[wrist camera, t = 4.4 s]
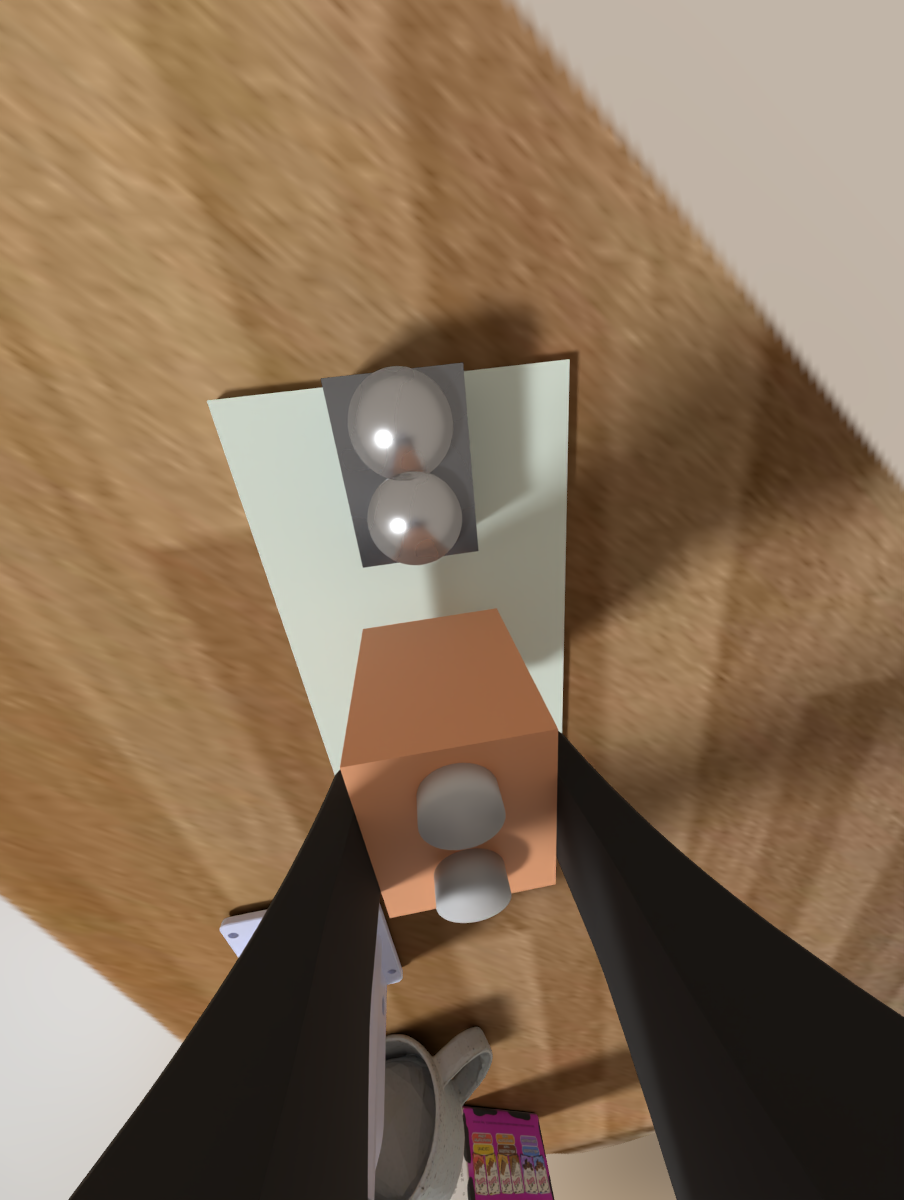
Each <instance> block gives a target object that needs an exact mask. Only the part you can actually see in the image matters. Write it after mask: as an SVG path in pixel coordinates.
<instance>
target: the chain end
mask: <svg viewBox="0 0 904 1200" xmlns="http://www.w3.org/2000/svg"><path fill="white" fill-rule="evenodd" d="M321 382H322V387H323V391H324V396H325V400H326V405H327V409H328V414H329V418H330V423H331V427H332V432H333V436H334V441H335V445H336V450H337V454H338V459H339V463H340V468H341V472H342V477H343V481H344V486H345V490H346V495H347V499H348V504H349V508H350V512H351V517H352V521H353V526H354V530H355V535H356V539H357V544H358V548H359V553H360V557H361V562H362V566H363V568H365V567H372V566H379V565H386V564H393V563H403V564H407V565H424V564H428V563H431V562H434V561H436V560H438V559H440V558H441V557H443V556H448V555H455V554H462V553H469V552H476V551H479V550H478V538H477V526H476V514H475V502H474V489H473V477H472V465H471V453H470V441H469V429H468V417H467V404H466V392H465V380H464V368H463V363H455V364H446V365H437V366H429V367H420V368H409V367H403V366H391V367H386V368H383V369H380V370H377V371H376V372H374V373H366V374H358V375H349V376H340V377H331V378H322V379H321Z"/></svg>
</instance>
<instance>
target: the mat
mask: <svg viewBox="0 0 904 1200" xmlns="http://www.w3.org/2000/svg"><path fill="white" fill-rule="evenodd" d="M569 366H570V359H567V360H558V361H550V362H541V363H532V364H523V365H515V366H506V367H497V368H488V369H480V370H471V371H464V380H465V392H466V404H467V417H468V429H469V441H470V453H471V465H472V477H473V489H474V502H475V514H476V526H477V538H478V550H479V551H476V552H469V553H462V554H455V555H448V556H443V557H441V558H440V559H438V560H436V561H434V562H431V563H428V564H424V565H407V564H403V563H393V564H386V565H379V566H372V567H365V568H363V566H362V562H361V557H360V553H359V548H358V544H357V539H356V535H355V530H354V526H353V521H352V517H351V512H350V508H349V504H348V499H347V495H346V490H345V486H344V481H343V477H342V472H341V468H340V463H339V459H338V454H337V450H336V445H335V441H334V436H333V432H332V427H331V423H330V418H329V414H328V409H327V405H326V400H325V396H324V391H323V387H322V388H313V389H304V390H295V391H287V392H278V393H269V394H260V395H252V396H243V397H234V398H225V399H216V400H208V401H207V403H208V406H209V409H210V412H211V414H212V417H213V420H214V423H215V426H216V429H217V432H218V435H219V438H220V441H221V444H222V447H223V450H224V452H225V455H226V458H227V461H228V464H229V467H230V470H231V473H232V476H233V479H234V482H235V485H236V488H237V491H238V493H239V496H240V499H241V502H242V505H243V508H244V511H245V514H246V517H247V520H248V523H249V526H250V529H251V531H252V534H253V537H254V540H255V543H256V546H257V549H258V552H259V555H260V558H261V561H262V564H263V567H264V569H265V572H266V575H267V578H268V581H269V584H270V587H271V590H272V593H273V596H274V599H275V602H276V605H277V607H278V610H279V613H280V616H281V619H282V622H283V625H284V628H285V631H286V634H287V637H288V640H289V643H290V645H291V648H292V651H293V654H294V657H295V660H296V663H297V666H298V669H299V672H300V675H301V678H302V681H303V683H304V686H305V689H306V692H307V695H308V698H309V701H310V704H311V707H312V710H313V713H314V716H315V719H316V721H317V724H318V727H319V730H320V733H321V736H322V739H323V742H324V745H325V748H326V751H327V754H328V757H329V760H330V762H331V765H332V768H333V771H334V774H335V775H336V773H337V772H338V771H339V770H340V763H341V757H342V751H343V745H344V739H345V733H346V727H347V721H348V715H349V709H350V703H351V697H352V691H353V685H354V679H355V673H356V667H357V661H358V655H359V649H360V643H361V637H362V631H363V629H366V628H373V627H379V626H386V625H392V624H398V623H405V622H411V621H418V620H424V619H431V618H437V617H444V616H450V615H456V614H463V613H469V612H476V611H482V610H489V609H495V608H497V610H498V612H499V614H500V616H501V618H502V620H503V622H504V624H505V626H506V628H507V630H508V631H509V633H510V635H511V637H512V639H513V641H514V643H515V645H516V647H517V649H518V651H519V653H520V655H521V657H522V659H523V661H524V663H525V665H526V667H527V669H528V671H529V673H530V675H531V677H532V679H533V681H534V683H535V684H536V686H537V688H538V690H539V692H540V694H541V696H542V698H543V700H544V702H545V704H546V706H547V708H548V710H549V712H550V714H551V716H552V718H553V720H554V722H555V724H556V726H557V728H558V731H559V732H561V733H562V710H563V661H564V612H565V562H566V513H567V464H568V415H569Z"/></svg>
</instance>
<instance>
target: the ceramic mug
mask: <svg viewBox="0 0 904 1200" xmlns="http://www.w3.org/2000/svg"><path fill="white" fill-rule="evenodd" d="M491 1062H492V1050H491V1048H490V1045H489V1043H488V1041H487V1039H486V1037H485V1035H484V1033H483V1031H482V1030H481V1029H480V1028H479V1027H472V1028H469V1029H466V1030H464V1031H463V1032H461V1033H459V1034H458V1035H456V1036H455V1037H454V1038H453V1039H452V1040H451V1041H450V1042H448V1043H447V1044H446V1045H445V1046H444V1047H443V1048H442V1049H441V1050H440V1051H439V1052H438V1053H437V1054H436V1055H434V1056H431V1054H430V1053H429V1052H428V1051H427V1050H426V1049H425V1047H424V1046H423V1045H421V1044H420V1043H419V1042H418V1041H416V1040H415V1039H413V1038H411V1037H409V1036H407V1035H403V1034H391V1035H388V1036H386V1048H385V1097H384V1129H383V1138H382V1145H381V1150H380V1154H379V1158H378V1163H377V1166H376V1170H375V1194H374V1200H450V1199H451V1197H452V1195H453V1193H454V1191H455V1188H456V1186H457V1182H458V1179H459V1176H460V1172H461V1168H462V1163H463V1155H464V1141H465V1135H464V1124H463V1116H462V1106H463V1104H464V1103H465V1102H466V1101H467V1099H468V1098H469V1097H470V1096H471V1094H472V1093H473V1092H474V1090H475V1089H476V1088H477V1087H478V1086H479V1085H480V1083H481V1082H482V1080H483V1079H484V1078H485V1076H486V1074H487V1072H488V1070H489V1068H490V1065H491ZM452 1078H453V1079H452Z"/></svg>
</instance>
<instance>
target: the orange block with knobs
mask: <svg viewBox="0 0 904 1200" xmlns="http://www.w3.org/2000/svg"><path fill="white" fill-rule="evenodd" d="M340 770H341V773H342V776H343V779H344V782H345V785H346V788H347V791H348V794H349V797H350V800H351V803H352V806H353V809H354V812H355V815H356V818H357V821H358V824H359V827H360V830H361V833H362V836H363V839H364V842H365V845H366V848H367V851H368V854H369V857H370V860H371V863H372V866H373V869H374V872H375V875H376V878H377V881H378V884H379V887H380V890H381V893H382V896H383V899H384V902H385V905H386V908H387V911H388V914H389V917H390V918H393V917H398V916H403V915H408V914H412V913H417V912H422V911H427V910H432V909H437V912H438V914H439V915H440V916H441V917H443V918H444V919H446V920H449V921H452V922H457V923H471V922H477V921H482V920H485V919H488V918H490V917H492V916H494V915H496V914H498V913H499V912H501V911H502V910H503V909H504V908H505V907H506V906H507V905H508V903H509V902H510V900H511V893H515V892H520V891H525V890H530V889H535V888H540V887H545V886H550V885H555V884H556V832H557V772H558V728H557V726H556V724H555V722H554V720H553V718H552V716H551V714H550V712H549V710H548V708H547V706H546V704H545V702H544V700H543V698H542V696H541V694H540V692H539V690H538V688H537V686H536V684H535V683H534V681H533V679H532V677H531V675H530V673H529V671H528V669H527V667H526V665H525V663H524V661H523V659H522V657H521V655H520V653H519V651H518V649H517V647H516V645H515V643H514V641H513V639H512V637H511V635H510V633H509V631H508V630H507V628H506V626H505V624H504V622H503V620H502V618H501V616H500V614H499V612H498V610H497V608H495V609H489V610H482V611H476V612H469V613H463V614H456V615H450V616H444V617H437V618H431V619H424V620H418V621H411V622H405V623H398V624H392V625H386V626H379V627H373V628H366V629H363V631H362V637H361V643H360V649H359V655H358V661H357V667H356V673H355V679H354V685H353V691H352V697H351V703H350V709H349V715H348V721H347V727H346V733H345V739H344V745H343V751H342V757H341V763H340Z"/></svg>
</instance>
